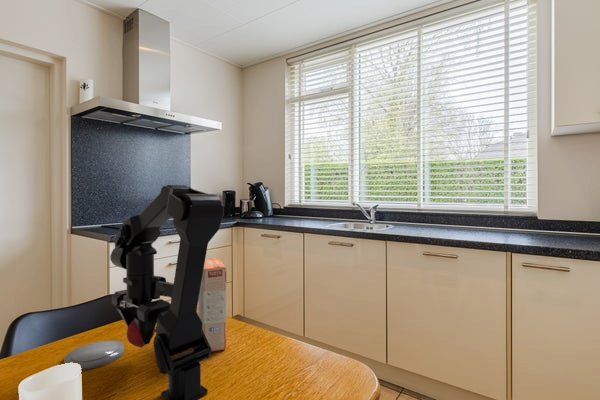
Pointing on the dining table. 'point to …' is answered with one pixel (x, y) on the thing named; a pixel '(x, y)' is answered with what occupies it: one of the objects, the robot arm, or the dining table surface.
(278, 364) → the dining table surface
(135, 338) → the onion
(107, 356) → the plate
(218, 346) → the cracker box
